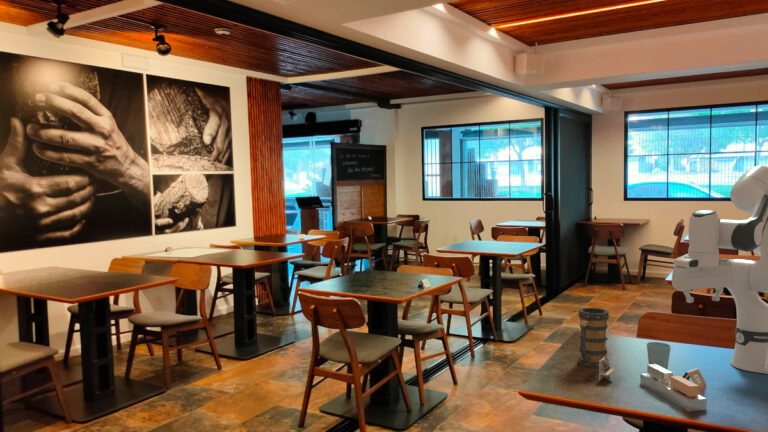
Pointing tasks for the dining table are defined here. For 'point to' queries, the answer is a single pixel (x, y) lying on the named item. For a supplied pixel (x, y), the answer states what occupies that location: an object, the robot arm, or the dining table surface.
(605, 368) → the architectural model
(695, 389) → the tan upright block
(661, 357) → the cup
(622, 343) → the dining table surface
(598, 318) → the mug
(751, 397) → the dining table surface
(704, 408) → the rail
